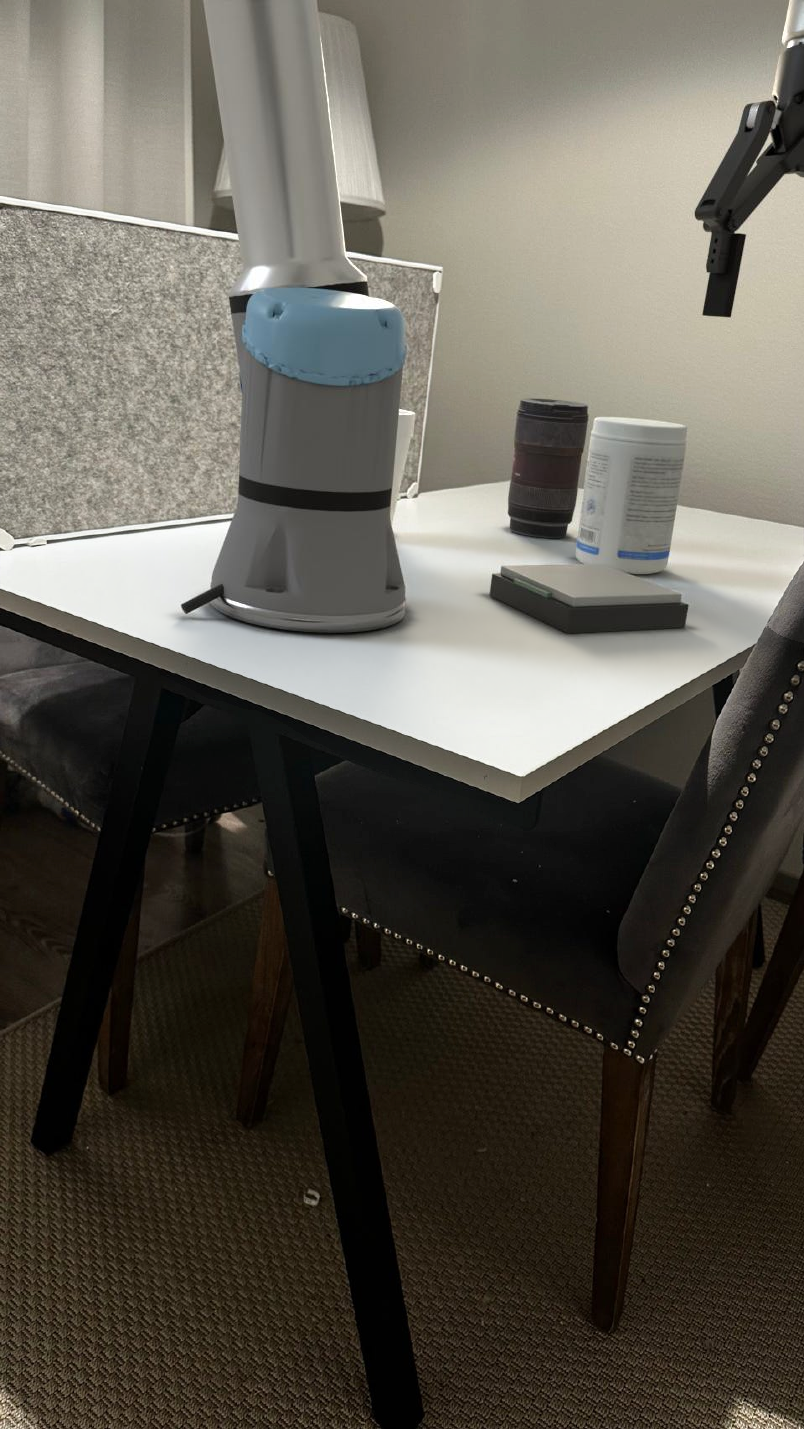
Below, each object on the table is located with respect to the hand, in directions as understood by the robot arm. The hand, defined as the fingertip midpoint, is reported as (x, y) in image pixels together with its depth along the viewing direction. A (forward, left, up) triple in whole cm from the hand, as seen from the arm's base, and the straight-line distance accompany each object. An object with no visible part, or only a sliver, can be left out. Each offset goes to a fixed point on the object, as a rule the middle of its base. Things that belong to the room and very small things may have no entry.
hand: (773, 324), depth 97 cm
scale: (-19, -4, -25) cm, 31 cm away
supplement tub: (-3, +12, -25) cm, 28 cm away
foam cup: (-25, +29, -25) cm, 46 cm away
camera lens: (-2, +29, -25) cm, 39 cm away
